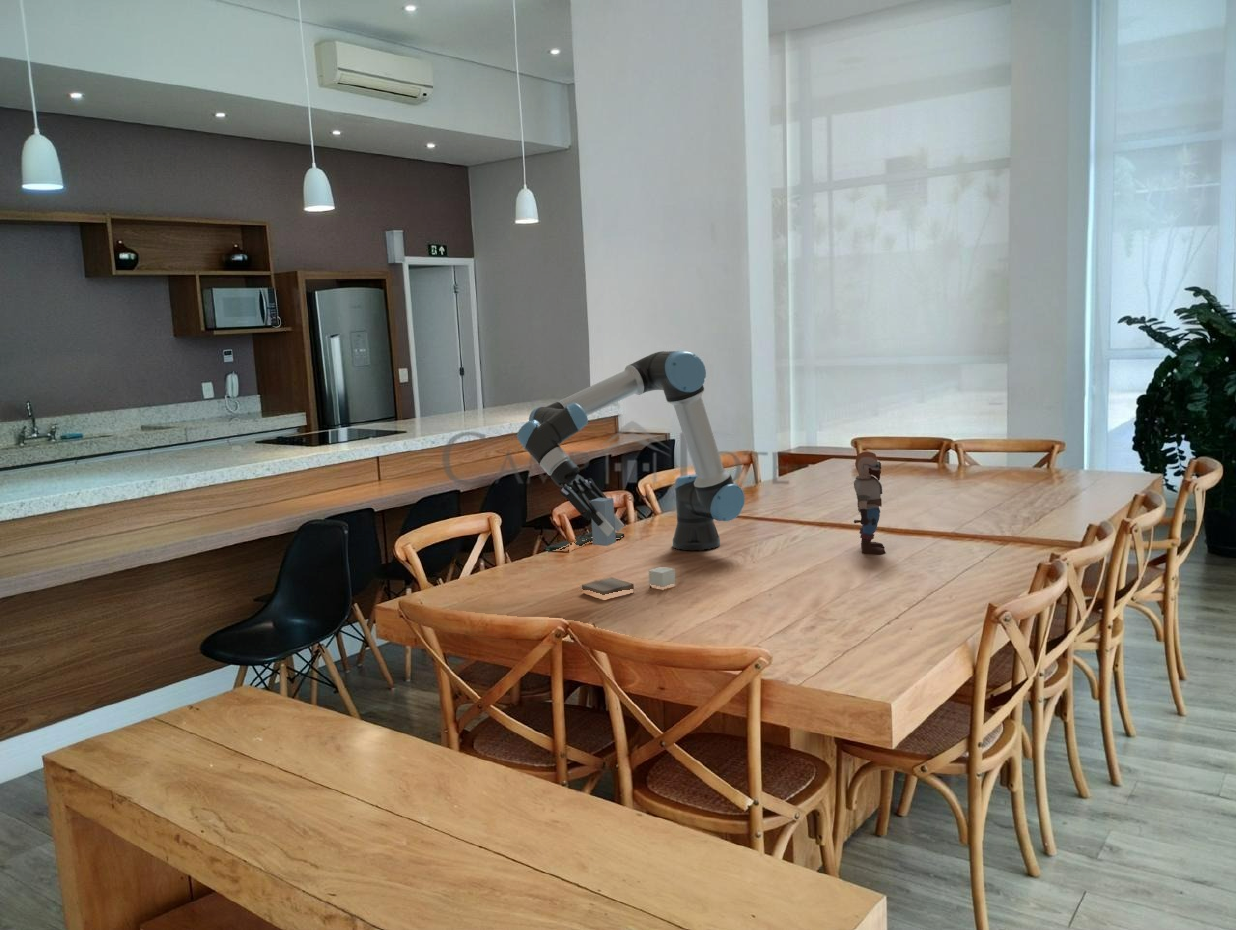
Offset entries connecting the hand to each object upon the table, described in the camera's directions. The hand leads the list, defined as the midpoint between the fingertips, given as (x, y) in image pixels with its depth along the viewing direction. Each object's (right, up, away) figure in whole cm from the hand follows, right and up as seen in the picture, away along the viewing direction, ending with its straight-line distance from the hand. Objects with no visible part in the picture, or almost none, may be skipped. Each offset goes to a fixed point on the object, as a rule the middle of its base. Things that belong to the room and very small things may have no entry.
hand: (615, 530), depth 261 cm
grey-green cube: (+13, -16, +7) cm, 22 cm away
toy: (+76, -9, +35) cm, 84 cm away
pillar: (-3, -4, +2) cm, 5 cm away
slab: (-2, -18, +4) cm, 18 cm away
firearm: (-9, -10, +67) cm, 69 cm away
